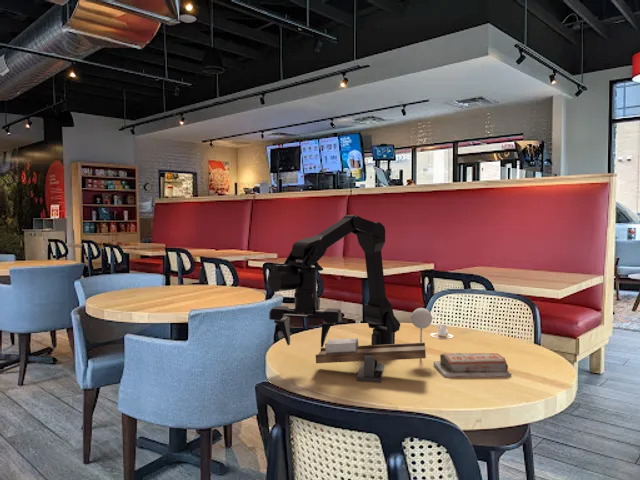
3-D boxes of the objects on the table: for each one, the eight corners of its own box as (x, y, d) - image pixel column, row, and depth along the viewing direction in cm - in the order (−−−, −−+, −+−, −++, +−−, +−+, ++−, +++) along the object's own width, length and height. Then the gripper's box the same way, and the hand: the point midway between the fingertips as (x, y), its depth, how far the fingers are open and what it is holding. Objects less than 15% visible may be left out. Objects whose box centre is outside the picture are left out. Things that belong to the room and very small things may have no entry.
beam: (425, 351, 132) (424, 342, 132) (425, 359, 124) (424, 350, 124) (322, 356, 137) (321, 347, 137) (316, 364, 130) (315, 355, 130)
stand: (384, 366, 137) (384, 345, 136) (380, 382, 124) (380, 358, 124) (362, 365, 138) (362, 343, 138) (356, 380, 125) (356, 357, 125)
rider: (358, 349, 134) (357, 338, 134) (356, 354, 129) (355, 342, 129) (329, 350, 135) (328, 339, 135) (326, 355, 130) (325, 344, 130)
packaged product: (496, 349, 140) (512, 360, 130) (496, 366, 140) (511, 378, 130) (433, 349, 138) (444, 360, 128) (432, 366, 139) (443, 379, 129)
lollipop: (432, 358, 146) (433, 307, 145) (430, 363, 140) (431, 310, 139) (411, 355, 148) (412, 305, 147) (408, 361, 142) (409, 309, 141)
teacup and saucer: (439, 332, 179) (440, 321, 179) (459, 336, 173) (459, 325, 173) (425, 336, 173) (425, 324, 173) (445, 341, 167) (445, 329, 167)
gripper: (345, 285, 139) (344, 340, 140) (280, 282, 143) (280, 336, 144) (338, 291, 128) (337, 351, 129) (268, 288, 132) (268, 346, 133)
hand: (305, 345), depth 134 cm, fingers open, 9 cm apart
